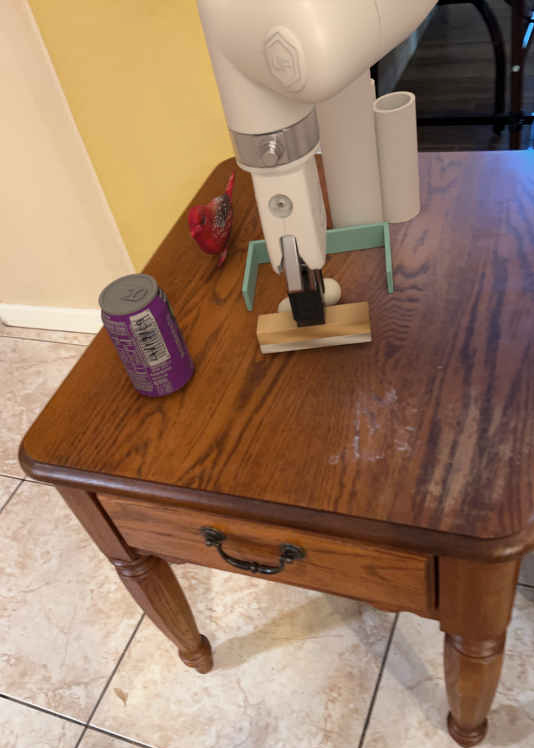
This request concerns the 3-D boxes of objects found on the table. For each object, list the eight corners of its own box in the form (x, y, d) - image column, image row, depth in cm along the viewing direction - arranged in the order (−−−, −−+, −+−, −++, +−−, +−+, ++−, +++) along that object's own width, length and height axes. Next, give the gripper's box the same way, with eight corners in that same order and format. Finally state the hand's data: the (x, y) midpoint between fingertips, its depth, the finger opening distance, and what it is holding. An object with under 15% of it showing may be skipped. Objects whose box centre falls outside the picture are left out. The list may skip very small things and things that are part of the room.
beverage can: (205, 359, 80) (172, 271, 71) (181, 404, 76) (143, 317, 67) (151, 354, 82) (113, 269, 73) (125, 398, 78) (81, 313, 69)
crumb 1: (303, 288, 78) (303, 311, 77) (307, 307, 81) (308, 329, 80) (275, 292, 79) (274, 315, 78) (280, 310, 82) (280, 332, 80)
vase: (349, 248, 87) (326, 80, 72) (322, 223, 92) (295, 61, 77) (427, 211, 89) (421, 39, 73) (397, 189, 93) (385, 23, 78)
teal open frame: (388, 217, 90) (387, 195, 87) (393, 292, 80) (391, 271, 78) (258, 236, 93) (253, 216, 91) (247, 311, 84) (241, 290, 81)
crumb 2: (343, 309, 81) (341, 283, 82) (340, 298, 78) (338, 271, 78) (316, 312, 82) (314, 287, 82) (311, 302, 79) (310, 275, 79)
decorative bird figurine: (199, 292, 88) (175, 221, 80) (235, 211, 98) (217, 142, 91) (220, 291, 87) (198, 220, 80) (255, 210, 97) (237, 140, 90)
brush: (370, 323, 77) (361, 244, 69) (371, 341, 75) (361, 262, 67) (264, 336, 79) (243, 261, 71) (262, 354, 77) (240, 279, 70)
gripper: (316, 177, 54) (345, 355, 68) (320, 83, 64) (345, 255, 78) (222, 193, 55) (270, 364, 69) (241, 98, 65) (279, 264, 79)
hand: (309, 305), depth 73 cm, fingers closed on brush, 3 cm apart
